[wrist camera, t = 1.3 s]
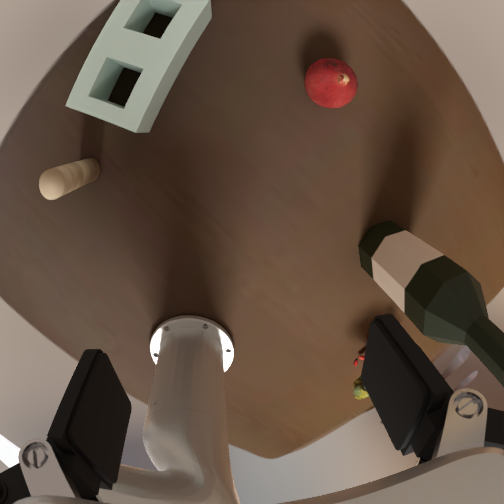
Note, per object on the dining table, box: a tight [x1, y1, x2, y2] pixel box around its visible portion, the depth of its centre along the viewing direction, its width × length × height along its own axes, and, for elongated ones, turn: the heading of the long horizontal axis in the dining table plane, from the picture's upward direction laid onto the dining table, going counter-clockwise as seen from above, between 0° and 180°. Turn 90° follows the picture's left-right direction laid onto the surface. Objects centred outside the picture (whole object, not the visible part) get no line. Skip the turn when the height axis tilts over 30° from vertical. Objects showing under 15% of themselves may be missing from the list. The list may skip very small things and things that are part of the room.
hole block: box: [66, 0, 212, 133], centre depth 26 cm, size 16×9×6 cm, turn 153°
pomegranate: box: [304, 58, 358, 108], centre depth 28 cm, size 6×6×8 cm
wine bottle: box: [359, 221, 504, 387], centre depth 27 cm, size 8×8×30 cm
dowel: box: [39, 158, 100, 200], centre depth 28 cm, size 3×3×10 cm
